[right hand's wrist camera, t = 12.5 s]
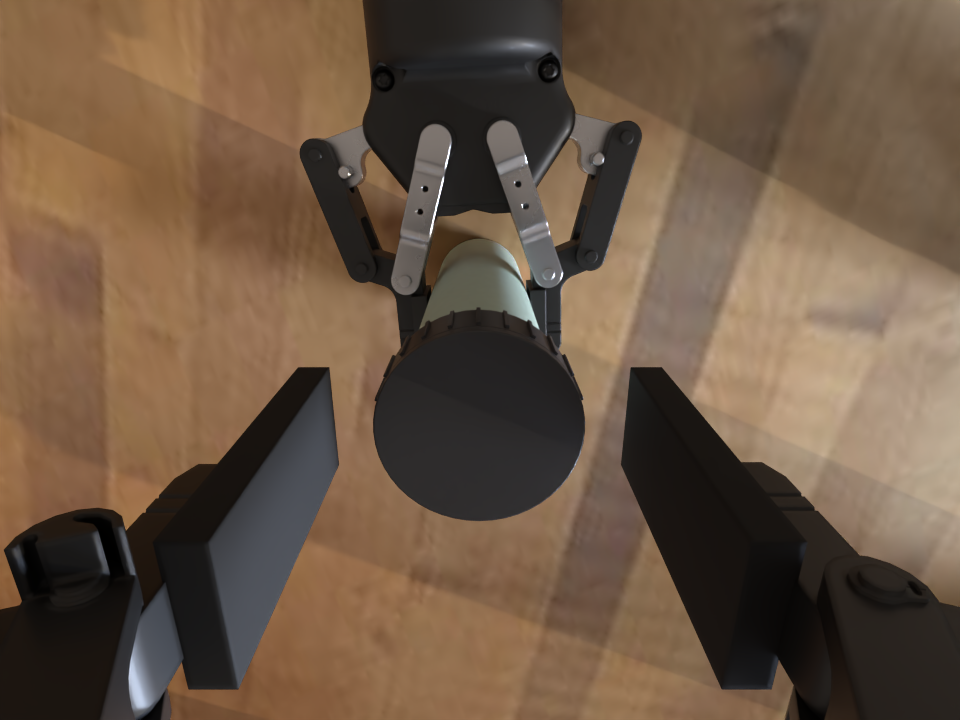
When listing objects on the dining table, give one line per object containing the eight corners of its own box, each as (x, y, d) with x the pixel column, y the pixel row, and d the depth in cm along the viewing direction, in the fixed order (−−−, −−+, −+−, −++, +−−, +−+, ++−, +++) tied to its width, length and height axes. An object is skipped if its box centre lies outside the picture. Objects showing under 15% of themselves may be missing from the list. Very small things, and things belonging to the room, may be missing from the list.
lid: (459, 265, 15) (456, 281, 13) (615, 382, 16) (633, 412, 14) (346, 416, 16) (328, 450, 14) (496, 514, 17) (498, 557, 15)
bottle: (471, 221, 31) (461, 304, 13) (535, 271, 31) (603, 408, 14) (423, 286, 32) (357, 439, 15) (486, 332, 33) (494, 526, 16)
